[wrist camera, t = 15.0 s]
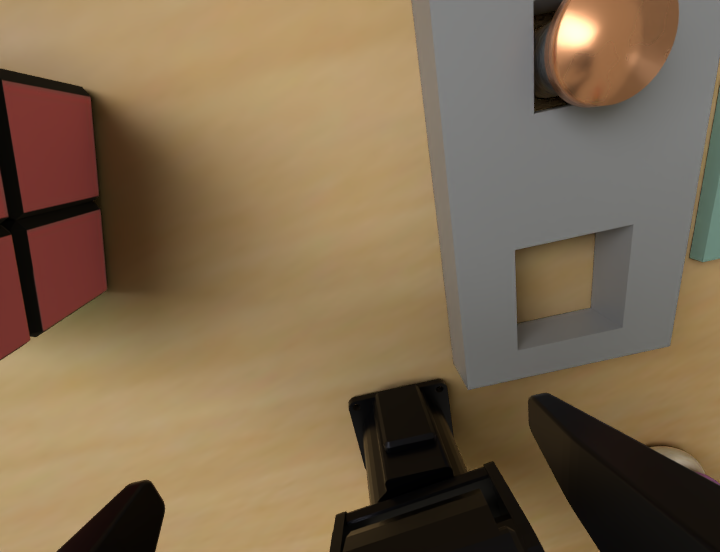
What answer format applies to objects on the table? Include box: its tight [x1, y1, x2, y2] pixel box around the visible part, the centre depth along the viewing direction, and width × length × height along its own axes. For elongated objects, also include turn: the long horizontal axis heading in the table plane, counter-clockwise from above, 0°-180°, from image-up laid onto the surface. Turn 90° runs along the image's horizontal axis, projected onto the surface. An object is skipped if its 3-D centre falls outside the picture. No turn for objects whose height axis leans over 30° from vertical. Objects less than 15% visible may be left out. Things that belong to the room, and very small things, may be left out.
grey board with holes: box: [412, 0, 720, 390], centre depth 17 cm, size 20×12×2 cm, turn 11°
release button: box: [534, 0, 679, 108], centre depth 14 cm, size 4×4×4 cm
